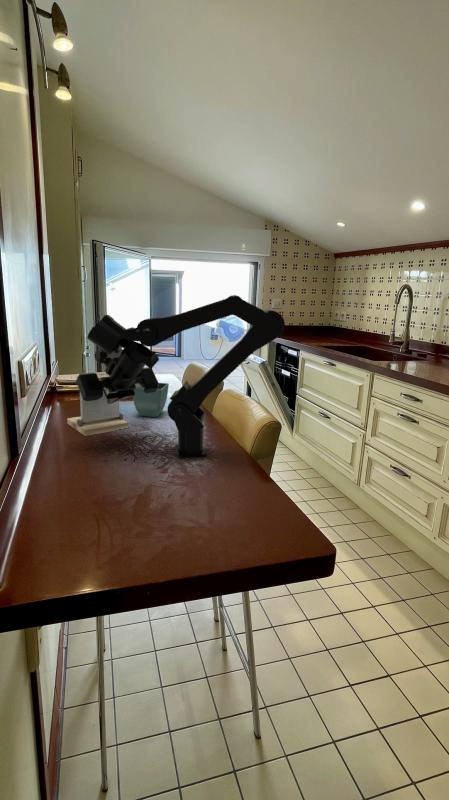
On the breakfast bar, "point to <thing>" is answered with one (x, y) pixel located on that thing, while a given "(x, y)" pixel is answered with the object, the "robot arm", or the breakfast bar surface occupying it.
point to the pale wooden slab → (97, 425)
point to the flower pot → (150, 400)
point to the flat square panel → (98, 410)
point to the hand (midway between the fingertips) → (108, 402)
